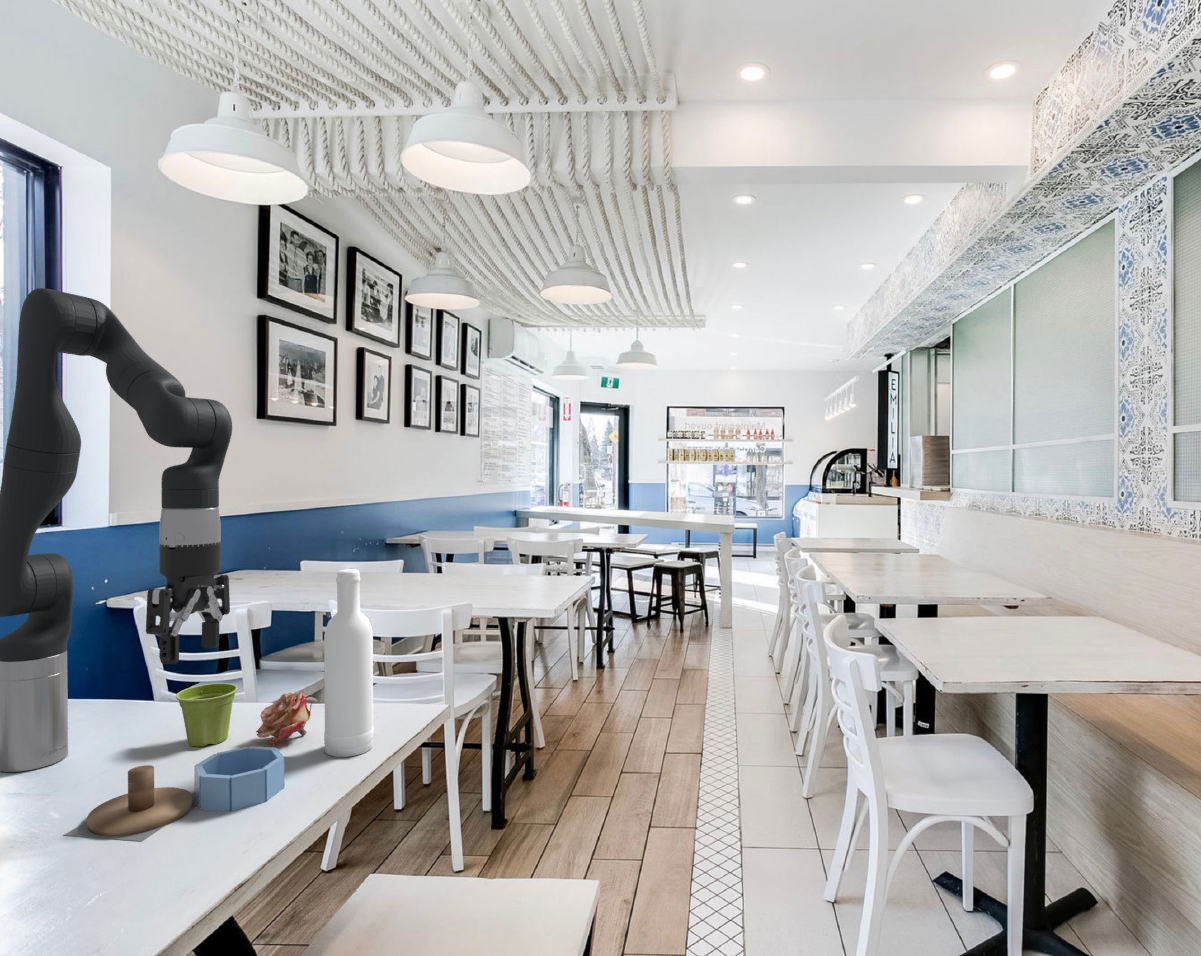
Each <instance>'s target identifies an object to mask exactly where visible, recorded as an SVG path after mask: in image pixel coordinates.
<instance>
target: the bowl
mask: <svg viewBox="0 0 1201 956" xmlns="http://www.w3.org/2000/svg"><path fill="white" fill-rule="evenodd" d="M193 767H194V771H193V772H194V773H193V775H194V794H195V799H196V801H197V803H198V808H199V809H200V810H206V811H207V810H209V811H211V810H212V811H223V812H224V811H225V812H230V811H236V810H241V809H245V808H248V807H252V806H256V805H260V804H264V803H266V802H268V801H269V800H271V799H272V798H274V796H276V795H277V794H279V793H281V792H282V790H284V789H285V785H286V784H285V756H284V755H283V753H282V752H281V751H280V750H279V748H278V747H277V748H276V747H271V746H254V745H253V746H251V745H250V746H244V747H239V748H234V749H233V748H232V749H229V750H224V751H221V752H216V753H213V754H212V755H210V756H209V757H206V758H205V759H203V760H201V761H200V762H198V763H196V764H195V765H194V766H193Z"/></svg>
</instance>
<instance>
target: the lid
mask: <svg viewBox="0 0 1201 956" xmlns="http://www.w3.org/2000/svg"><path fill="white" fill-rule="evenodd" d="M192 794H193V793H192V792H190V791H189V790H187V789H184V788H181V787H175V786H174V787H172V786H171V787H170V786H169V787H166V786H165V787H164V786H163V787H161V786H160V787H155V767H154V765H150V764H147V765H146V764H145V765H139V766H135V767H133V768H131V769H129V770H128V771H127V793H125V794H122V795H118V796H116V797H113V798H111V799H108V800H107V801H104V802H102V803H101V804H99V805H97V806H95V808H93V809H92V810H91V811H90V812H89V813H88V815H87V817H86V822H87V829H88V830H89V831H90V832H91V833H93V834H96V835H100V836H125V835H132V834H137V833H142V832H146V831H150V830H153V829H156V828H159V827H162V826H164V827H166V826H168V825H170V824H172V823H174V822H175V821H178V820H179V819H181V818H183V817H184V816H186V815H187V814H188V813H189V812H190V811H191V810H192V809H191V807H192ZM165 825H166V826H165Z"/></svg>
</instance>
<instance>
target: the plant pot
mask: <svg viewBox="0 0 1201 956" xmlns="http://www.w3.org/2000/svg"><path fill="white" fill-rule="evenodd" d="M238 688H239V687H238V685H236V684H234V683H229V682H228V683H227V682H226V683H225V682H221V683H219V682H218V683H216V682H215V683H207V684H206V683H205V684H200V685H196V686H192V687H188V688H185V689H183V690H181V691H179V692H177V693H176V695H175V699H176V700H177V701H178V703H179V706H180V708H181V711H182V717H183V723H184V728H185V734H186V739H187V744H188V745H189V746H192V747H197V748H198V747H199V748H202V747H205V746H207V745H211V744H212V745H217V744H220V743H222V742H225V740H227V739H228V737H229V730H230V724H231V715H232V709H233V701H234V699H235V695H236V693H237V691H238Z"/></svg>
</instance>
